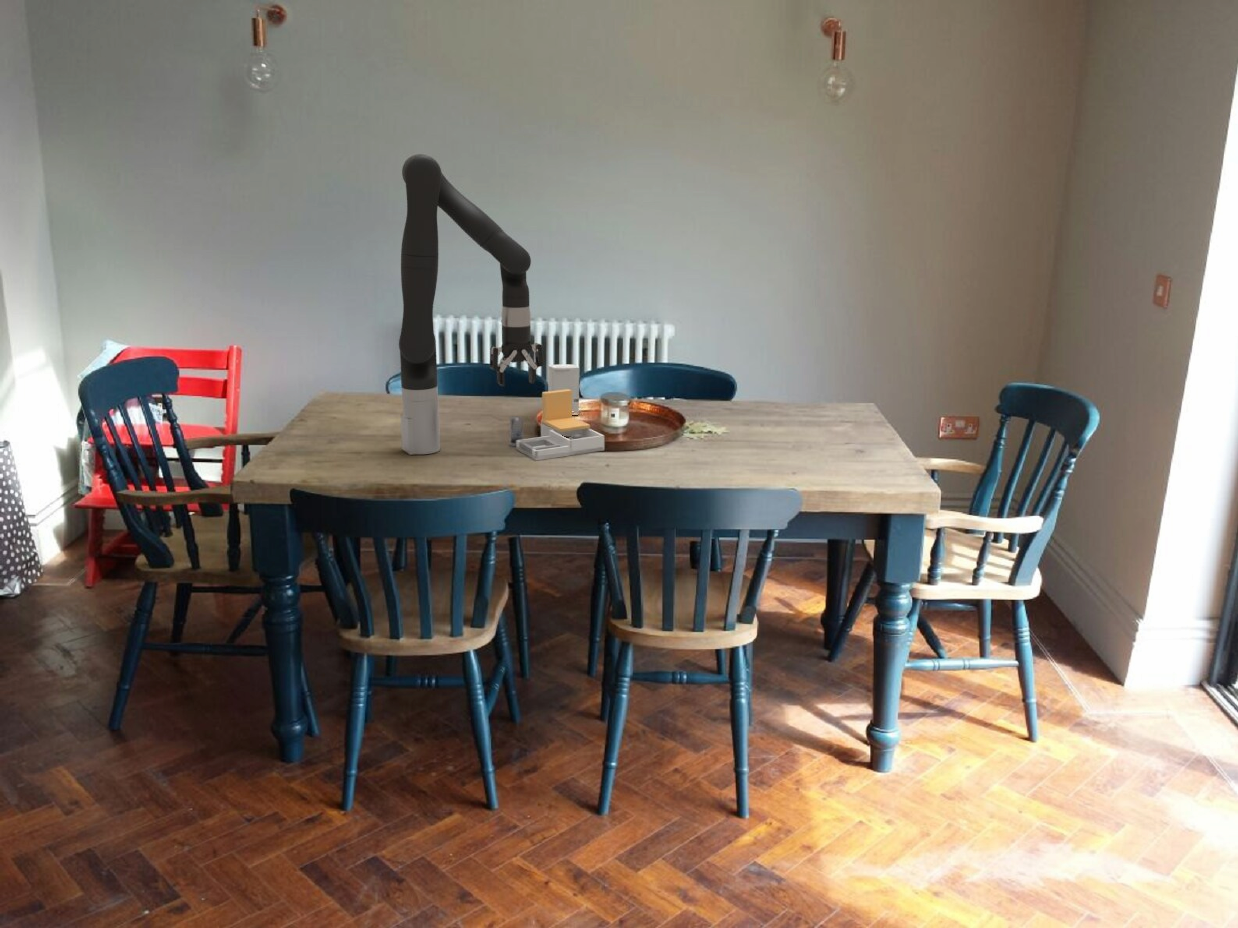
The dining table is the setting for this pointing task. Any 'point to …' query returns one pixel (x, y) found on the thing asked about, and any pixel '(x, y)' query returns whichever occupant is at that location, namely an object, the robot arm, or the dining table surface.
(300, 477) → the dining table surface
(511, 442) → the pin
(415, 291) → the robot arm
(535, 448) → the box
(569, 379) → the skincare box
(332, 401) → the dining table surface
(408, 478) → the dining table surface
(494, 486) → the dining table surface
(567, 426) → the orange l-shaped block
